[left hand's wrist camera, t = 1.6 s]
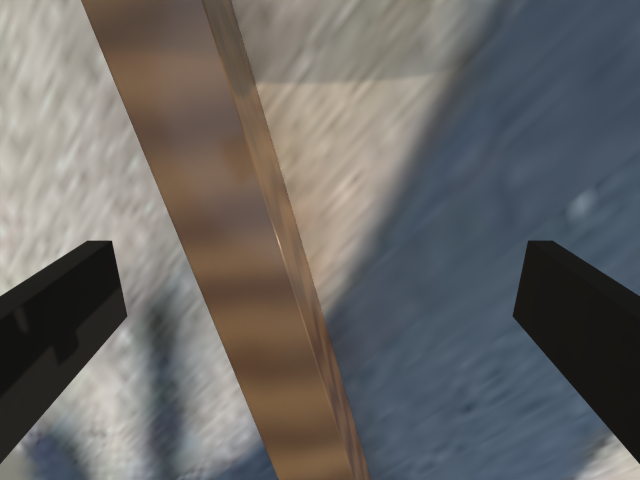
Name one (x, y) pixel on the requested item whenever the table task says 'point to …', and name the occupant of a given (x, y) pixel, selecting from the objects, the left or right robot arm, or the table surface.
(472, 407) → the table surface
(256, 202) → the beam
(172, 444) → the table surface
